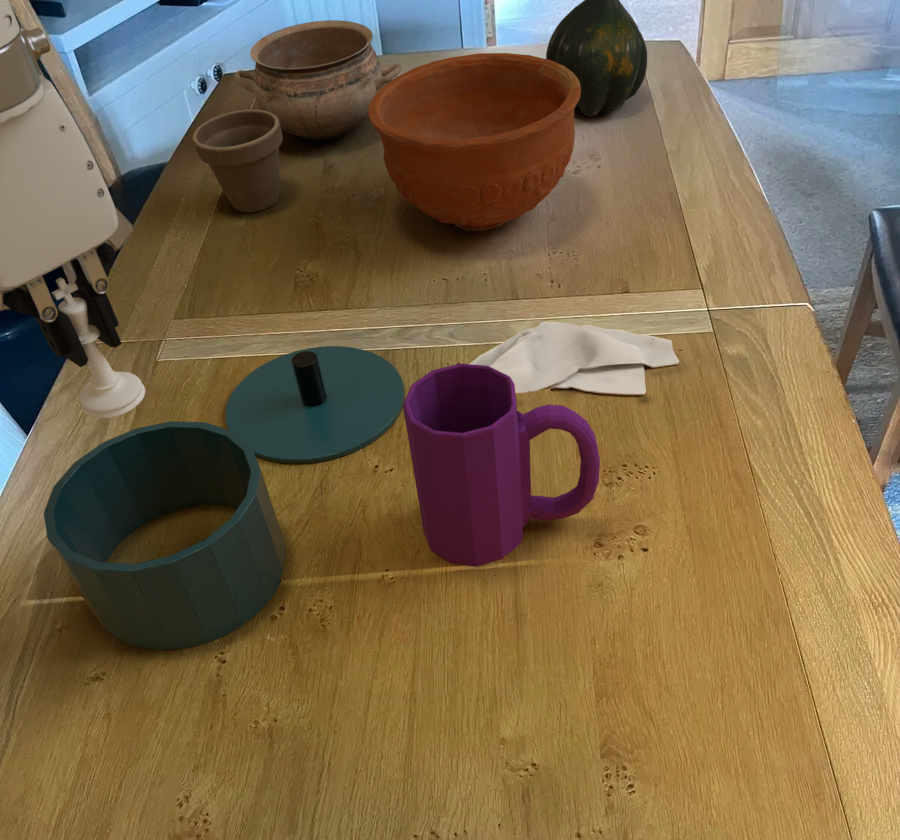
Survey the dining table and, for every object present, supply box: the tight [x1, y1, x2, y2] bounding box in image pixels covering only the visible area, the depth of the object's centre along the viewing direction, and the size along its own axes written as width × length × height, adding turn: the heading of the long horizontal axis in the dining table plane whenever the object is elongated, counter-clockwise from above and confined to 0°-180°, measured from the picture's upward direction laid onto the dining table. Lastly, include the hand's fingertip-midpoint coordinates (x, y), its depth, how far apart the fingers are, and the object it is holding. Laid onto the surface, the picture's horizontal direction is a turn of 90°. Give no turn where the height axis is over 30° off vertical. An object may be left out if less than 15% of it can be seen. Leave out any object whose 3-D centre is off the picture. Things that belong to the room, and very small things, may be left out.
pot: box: [43, 420, 287, 651], centre depth 80 cm, size 18×18×10 cm
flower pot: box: [192, 109, 284, 213], centre depth 125 cm, size 12×11×10 cm
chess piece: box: [51, 277, 146, 419], centre depth 68 cm, size 5×5×10 cm
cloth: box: [469, 321, 680, 396], centre depth 98 cm, size 26×14×2 cm, turn 88°
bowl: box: [368, 52, 581, 232], centre depth 115 cm, size 25×25×15 cm
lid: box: [224, 345, 405, 465], centre depth 95 cm, size 19×19×6 cm
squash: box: [545, 0, 648, 117], centre depth 135 cm, size 14×15×15 cm
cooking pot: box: [234, 19, 402, 143], centre depth 137 cm, size 25×19×12 cm
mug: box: [402, 363, 601, 568], centre depth 78 cm, size 9×16×15 cm, turn 92°
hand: (90, 347), depth 68 cm, fingers closed on chess piece
